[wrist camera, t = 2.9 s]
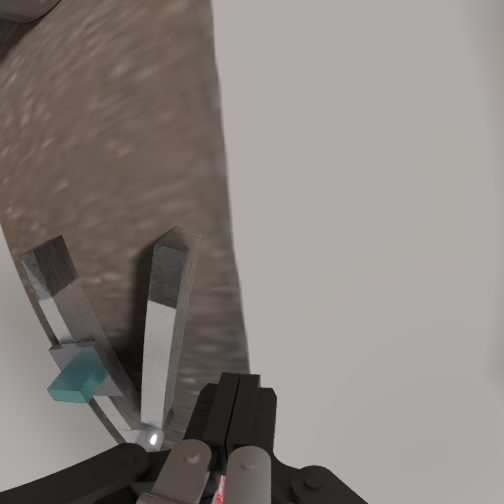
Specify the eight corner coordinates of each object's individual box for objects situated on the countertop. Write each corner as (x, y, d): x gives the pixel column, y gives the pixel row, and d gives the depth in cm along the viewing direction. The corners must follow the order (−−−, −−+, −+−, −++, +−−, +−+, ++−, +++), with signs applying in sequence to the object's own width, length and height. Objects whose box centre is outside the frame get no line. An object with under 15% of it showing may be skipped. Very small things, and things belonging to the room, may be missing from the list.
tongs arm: (173, 400, 28) (161, 428, 25) (154, 393, 28) (141, 421, 25) (202, 233, 22) (185, 252, 18) (176, 226, 22) (154, 243, 18)
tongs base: (177, 418, 29) (162, 455, 24) (140, 417, 30) (123, 451, 25) (83, 226, 23) (44, 247, 18) (47, 240, 24) (9, 261, 19)
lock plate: (126, 389, 23) (108, 421, 19) (80, 389, 24) (61, 416, 20) (98, 340, 21) (73, 370, 18) (53, 344, 22) (29, 370, 19)
